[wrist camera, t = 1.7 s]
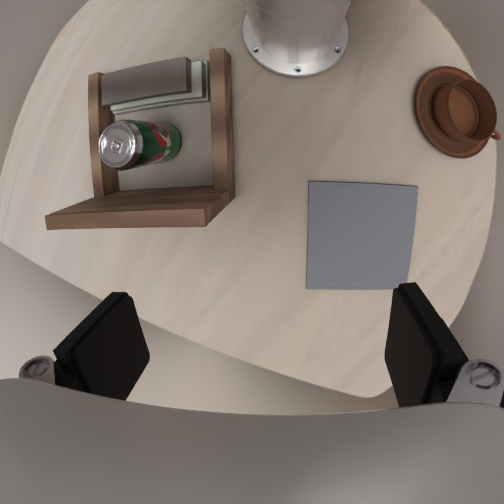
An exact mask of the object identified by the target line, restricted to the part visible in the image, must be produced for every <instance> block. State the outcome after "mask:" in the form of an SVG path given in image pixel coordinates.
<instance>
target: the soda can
mask: <svg viewBox="0 0 504 504" xmlns="http://www.w3.org/2000/svg"><path fill="white" fill-rule="evenodd" d="M180 145H181V138H180V134H179V132H178V131H177V129H176V128H175V127H174V126H172V125H170V124H167V123H159V122H148V121H136V120H119V121H116V122H114V123H112V124H111V125H110V126H108V127H107V128H106V129H105V130H104V131H103V132H102V134H101V136H100V139H99V143H98V151H99V155H100V157H101V159H102V161H103V162H104V163H105V164H106V165H108V166H110V167H111V168H113V169H116V170H121V171H122V170H128V169H132V168H137V167H142V166H146V165H151V164H156V163H161V162H166V161H169V160H171V159H172V158H174V157H175V156H176V154H177V153H178V151H179V149H180Z"/></svg>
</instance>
